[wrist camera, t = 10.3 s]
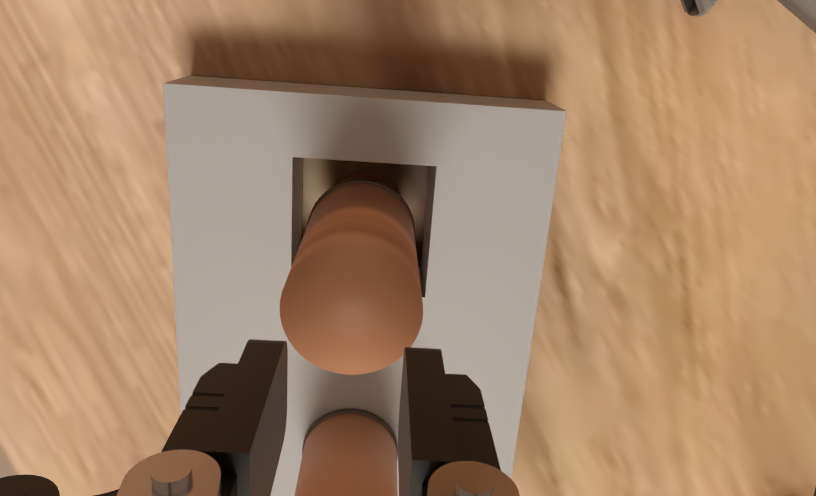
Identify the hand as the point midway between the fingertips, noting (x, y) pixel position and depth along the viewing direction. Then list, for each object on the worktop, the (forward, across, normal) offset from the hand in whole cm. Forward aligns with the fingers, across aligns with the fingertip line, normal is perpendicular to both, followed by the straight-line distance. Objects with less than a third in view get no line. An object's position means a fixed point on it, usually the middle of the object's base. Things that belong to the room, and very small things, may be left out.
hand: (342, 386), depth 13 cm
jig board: (+13, 0, +4) cm, 14 cm away
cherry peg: (+13, 0, 0) cm, 13 cm away
